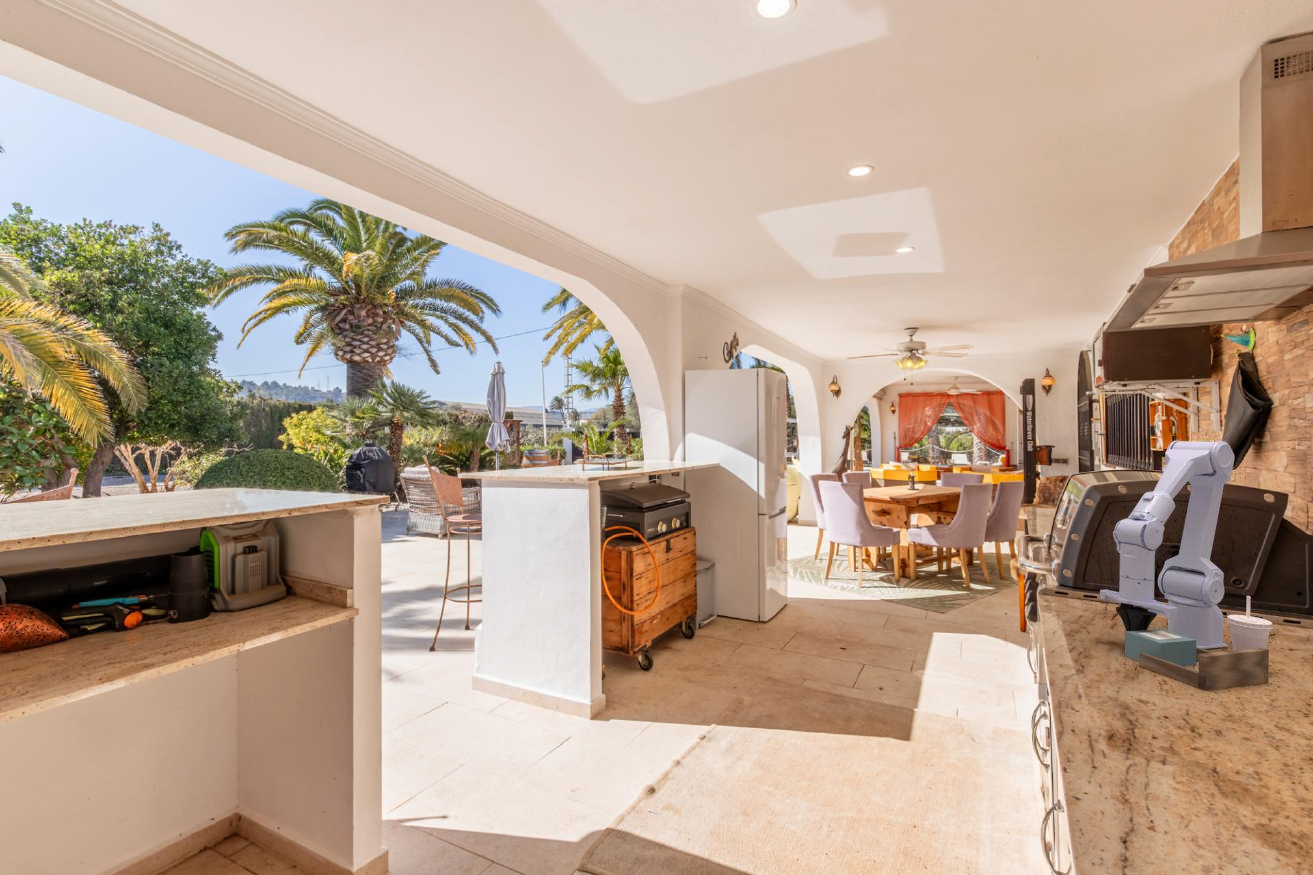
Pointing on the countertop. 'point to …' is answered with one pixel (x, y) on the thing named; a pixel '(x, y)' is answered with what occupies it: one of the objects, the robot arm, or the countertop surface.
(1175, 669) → the display stand
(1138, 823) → the countertop surface
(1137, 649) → the carton
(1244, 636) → the smoothie
